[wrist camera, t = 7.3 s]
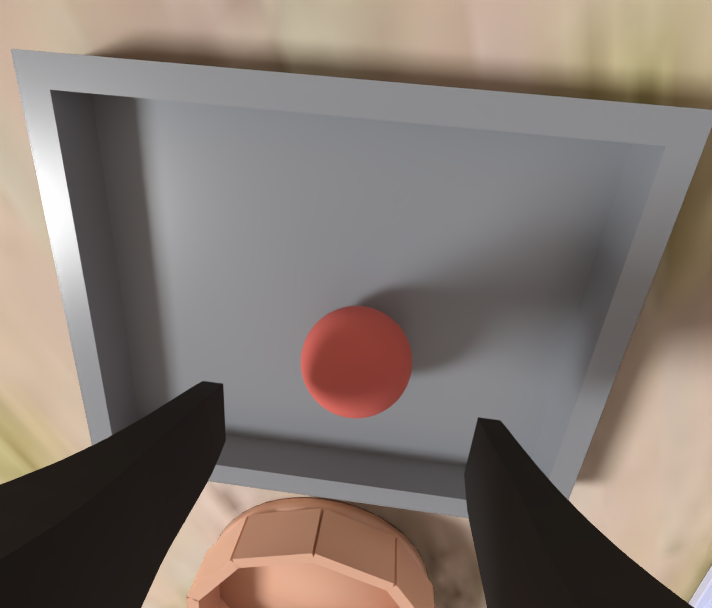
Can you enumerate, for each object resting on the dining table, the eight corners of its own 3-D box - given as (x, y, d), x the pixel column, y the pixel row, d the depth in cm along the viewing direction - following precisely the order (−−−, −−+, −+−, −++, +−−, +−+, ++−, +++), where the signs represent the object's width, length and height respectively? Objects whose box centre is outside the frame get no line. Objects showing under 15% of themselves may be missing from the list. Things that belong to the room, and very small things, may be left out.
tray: (665, 112, 14) (718, 110, 11) (538, 484, 20) (556, 530, 18) (70, 59, 15) (10, 48, 13) (129, 428, 21) (96, 465, 19)
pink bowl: (446, 512, 21) (453, 574, 18) (411, 661, 26) (412, 728, 23) (208, 478, 22) (178, 533, 19) (218, 630, 27) (197, 691, 24)
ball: (417, 296, 16) (423, 345, 13) (402, 384, 18) (404, 450, 14) (314, 283, 17) (291, 329, 13) (309, 371, 18) (287, 434, 14)
